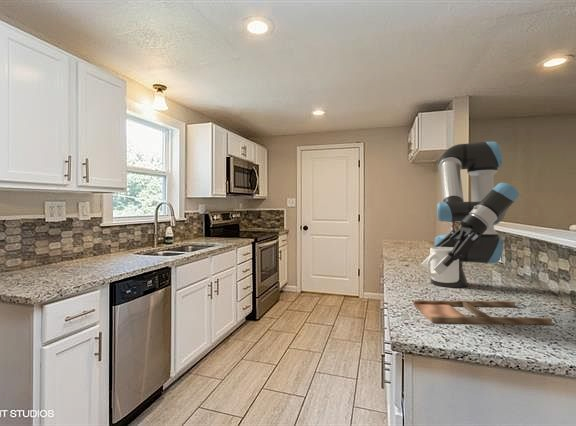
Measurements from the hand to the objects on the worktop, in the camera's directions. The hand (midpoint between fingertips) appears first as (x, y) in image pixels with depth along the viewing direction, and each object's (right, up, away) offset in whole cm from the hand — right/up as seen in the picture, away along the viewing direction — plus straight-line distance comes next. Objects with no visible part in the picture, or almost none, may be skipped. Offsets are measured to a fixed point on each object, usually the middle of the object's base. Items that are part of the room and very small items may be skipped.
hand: (430, 269), depth 106 cm
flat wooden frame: (+15, -15, -1) cm, 21 cm away
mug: (+3, -4, 0) cm, 5 cm away
